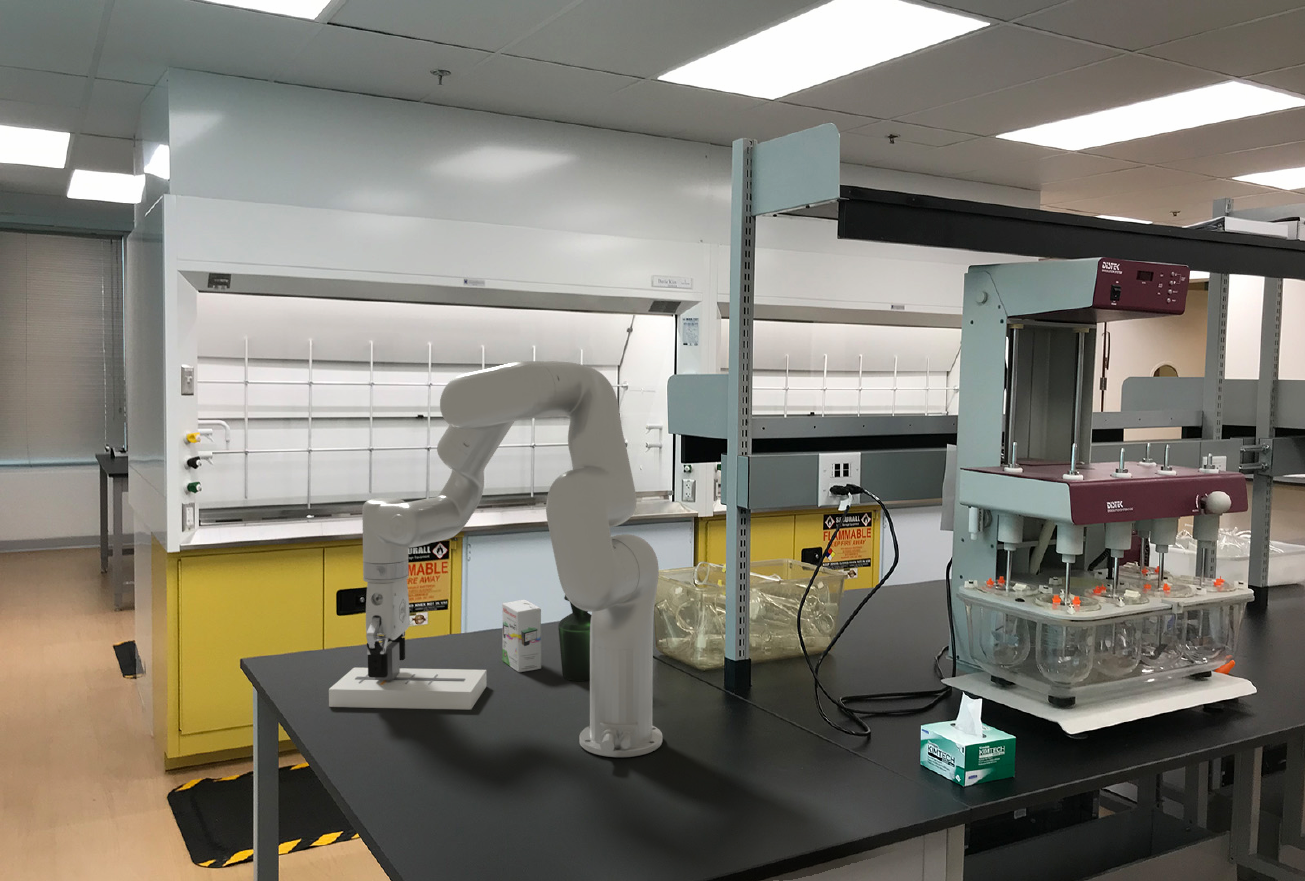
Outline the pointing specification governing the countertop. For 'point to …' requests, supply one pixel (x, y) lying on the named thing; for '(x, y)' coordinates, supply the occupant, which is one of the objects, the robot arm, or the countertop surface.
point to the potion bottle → (575, 644)
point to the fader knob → (392, 661)
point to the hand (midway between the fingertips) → (387, 668)
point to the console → (410, 689)
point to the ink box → (521, 635)
